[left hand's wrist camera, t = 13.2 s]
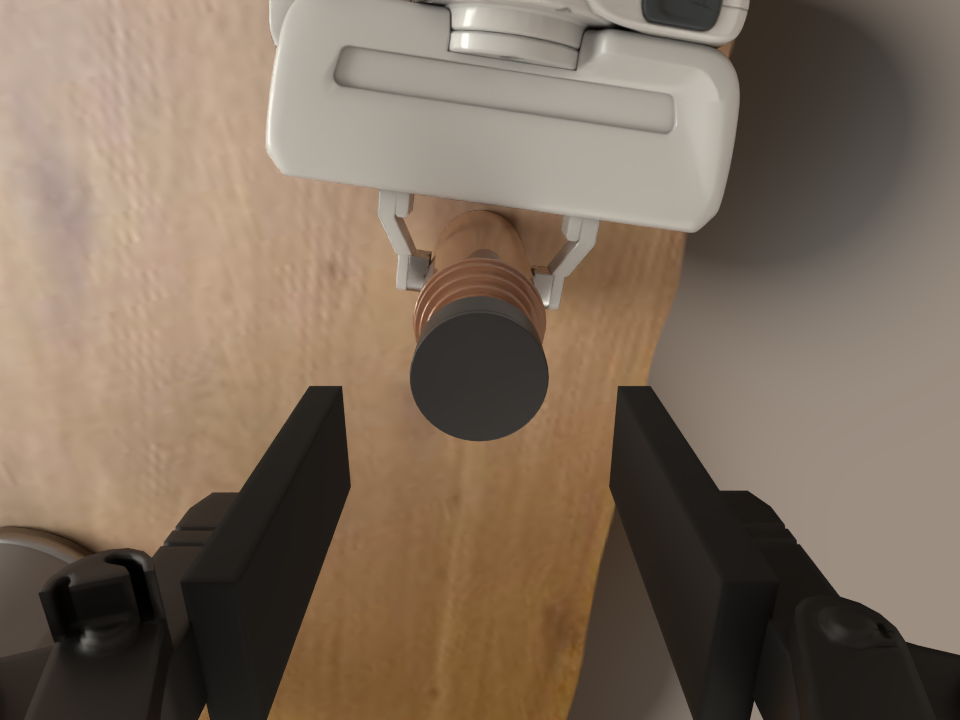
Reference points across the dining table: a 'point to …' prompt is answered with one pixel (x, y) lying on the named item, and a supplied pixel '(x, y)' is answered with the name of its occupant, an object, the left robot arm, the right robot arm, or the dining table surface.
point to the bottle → (479, 269)
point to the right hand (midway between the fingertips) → (478, 297)
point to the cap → (479, 369)
